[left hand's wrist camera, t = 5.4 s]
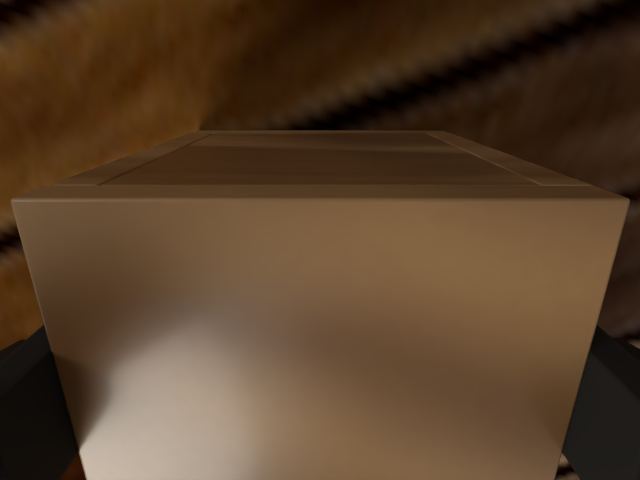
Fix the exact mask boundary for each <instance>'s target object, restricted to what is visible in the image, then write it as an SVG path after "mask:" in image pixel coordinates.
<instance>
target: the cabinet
mask: <svg viewBox="0 0 640 480" xmlns="http://www.w3.org/2000/svg"><path fill="white" fill-rule="evenodd" d="M11 205H12V208H13V212H14V216H15V219H16V223H17V227H18V230H19V234H20V238H21V241H22V245H23V249H24V252H25V256H26V260H27V263H28V267H29V271H30V274H31V278H32V282H33V285H34V289H35V293H36V296H37V300H38V304H39V308H40V311H41V315H42V319H43V322H44V326H45V330H46V333H47V337H48V341H49V344H50V348H51V352H52V355H53V359H54V363H55V366H56V370H57V374H58V377H59V381H60V385H61V388H62V392H63V396H64V399H65V403H66V407H67V410H68V414H69V418H70V421H71V425H72V429H73V432H74V436H75V440H76V443H77V447H78V451H79V455H80V458H81V462H82V466H83V469H84V473H85V477H86V480H554V479H555V476H556V472H557V468H558V465H559V461H560V457H561V454H562V450H563V446H564V443H565V439H566V435H567V432H568V428H569V424H570V421H571V417H572V413H573V410H574V406H575V402H576V399H577V395H578V391H579V388H580V384H581V380H582V377H583V373H584V369H585V366H586V362H587V358H588V355H589V351H590V347H591V344H592V340H593V336H594V333H595V329H596V325H597V322H598V318H599V314H600V311H601V307H602V303H603V300H604V296H605V292H606V289H607V285H608V282H609V278H610V274H611V271H612V267H613V263H614V260H615V256H616V252H617V249H618V245H619V241H620V238H621V234H622V230H623V227H624V223H625V219H626V216H627V212H628V208H629V205H630V200H629V199H628V198H626V197H623V196H621V195H618V194H615V193H612V192H610V191H607V190H604V189H601V188H599V187H596V186H593V185H591V184H588V183H586V182H583V181H580V180H577V179H575V178H572V177H569V176H567V175H564V174H561V173H558V172H556V171H553V170H550V169H547V168H545V167H542V166H539V165H536V164H534V163H531V162H528V161H526V160H523V159H520V158H517V157H515V156H512V155H509V154H506V153H504V152H501V151H498V150H496V149H493V148H490V147H487V146H485V145H482V144H479V143H476V142H474V141H471V140H468V139H465V138H463V137H460V136H457V135H455V134H452V133H449V132H446V131H443V130H198V131H195V132H192V133H190V134H187V135H184V136H181V137H179V138H176V139H173V140H171V141H168V142H165V143H162V144H160V145H157V146H154V147H152V148H149V149H146V150H143V151H141V152H138V153H135V154H133V155H130V156H127V157H124V158H122V159H119V160H116V161H113V162H111V163H108V164H105V165H103V166H100V167H97V168H94V169H92V170H89V171H86V172H84V173H81V174H78V175H75V176H73V177H70V178H67V179H65V180H62V181H59V182H56V183H54V184H51V185H50V186H44V187H42V188H39V189H36V190H34V191H31V192H28V193H25V194H23V195H20V196H17V197H15V198H12V199H11Z"/></svg>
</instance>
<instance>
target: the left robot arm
mask: <svg viewBox="0 0 640 480" xmlns="http://www.w3.org/2000/svg"><path fill="white" fill-rule="evenodd" d="M78 452H79V451H78V447H77V443H76V440H75V436H74V432H73V429H72V425H71V421H70V418H69V414H68V410H67V407H66V403H65V399H64V396H63V392H62V388H61V385H60V381H59V377H58V374H57V370H56V366H55V363H54V359H53V355H52V352H51V348H50V344H49V341H48V337H47V333H46V330H45V326H44V325H43V326H42V327H41V328H40V329H38V330H37V331H36V332H35V333H34V334H33V335H31V336H30V337H29V338H28V339H27V340H20V341H18V342H16V343H14V344H12V345H10V346H9V347H7V348H5V349H3V350H1V351H0V480H60V479H61V477H62V476H63V474H64V473H65V471H66V470H67V468H68V467H69V465H70V464H71V462H72V461H73V459H74V458H75V456H76V455H77V453H78ZM562 453H563V454H564V456H565V457H566V459H567V460H568V462H569V463H570V465H571V466H572V468H573V469H574V471H575V472H576V474H577V475H578V477H579V478H580V480H640V349H639V348H637V347H635V346H633V345H631V344H629V343H628V342H626V341H624V340H622V339H613V338H611V337H610V336H609V335H608V334H607V333H606V332H604V331H603V330H602V329H601V328H600V327H599V326H598V325H596V329H595V333H594V336H593V340H592V344H591V347H590V351H589V355H588V358H587V362H586V366H585V369H584V373H583V377H582V380H581V384H580V388H579V391H578V395H577V399H576V402H575V406H574V410H573V413H572V417H571V421H570V424H569V428H568V432H567V435H566V439H565V443H564V446H563V450H562Z"/></svg>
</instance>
